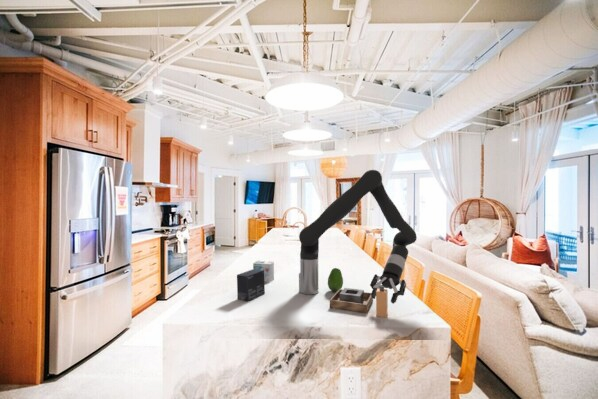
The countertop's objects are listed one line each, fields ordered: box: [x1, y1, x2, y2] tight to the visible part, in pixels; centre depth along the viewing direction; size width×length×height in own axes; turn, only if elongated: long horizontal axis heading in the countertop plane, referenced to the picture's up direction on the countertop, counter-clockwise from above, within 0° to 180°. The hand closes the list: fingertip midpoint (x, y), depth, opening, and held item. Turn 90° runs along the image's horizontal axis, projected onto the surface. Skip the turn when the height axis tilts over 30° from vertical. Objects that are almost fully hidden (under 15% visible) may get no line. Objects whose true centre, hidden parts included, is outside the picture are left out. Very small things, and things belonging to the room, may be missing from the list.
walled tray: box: [329, 287, 374, 314], centre depth 132 cm, size 16×16×6 cm
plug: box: [375, 286, 389, 318], centre depth 120 cm, size 4×4×12 cm
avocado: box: [327, 267, 344, 293], centre depth 150 cm, size 8×8×12 cm
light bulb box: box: [252, 260, 275, 284], centre depth 170 cm, size 11×7×11 cm, turn 73°
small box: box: [236, 268, 266, 302], centre depth 143 cm, size 13×7×12 cm, turn 149°
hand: (382, 300), depth 120 cm, fingers open, 8 cm apart
